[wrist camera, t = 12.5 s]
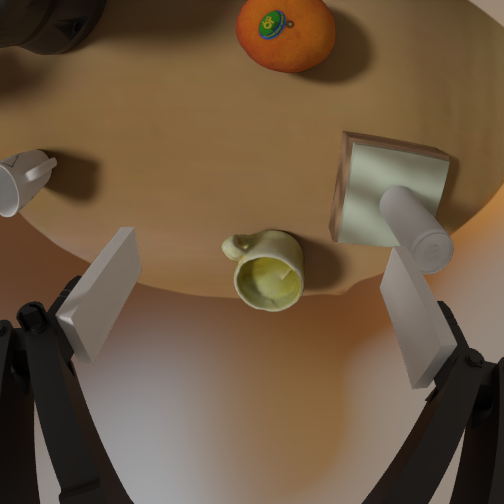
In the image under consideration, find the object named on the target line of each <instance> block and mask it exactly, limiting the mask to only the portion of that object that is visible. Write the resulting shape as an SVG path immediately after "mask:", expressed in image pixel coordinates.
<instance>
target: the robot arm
mask: <svg viewBox="0 0 504 504" xmlns="http://www.w3.org/2000/svg"><path fill="white" fill-rule="evenodd" d="M105 2H106V0H0V48H3V47H10V46H19V47H22V48H24V49H26V50H29V51H31V52H33V53H36V54H40V55H51V54H59V53H63V52H66V51H68V50H70V49H72V48H74V47H75V46H76V45H78V44H79V43H80V42H81V41H83V40H84V39H85V38H86V37H87V36H88V34H89V33H90V32H91V31H92V29H93V28H94V27H95V25H96V23H97V22H98V20H99V18H100V16H101V14H102V11H103V9H104V6H105ZM141 272H142V267H141V262H140V257H139V252H138V246H137V241H136V235H135V229H134V227H121V228H120V229H119V230H118V231H117V233H116V234H115V235H114V236H113V238H112V239H111V240H110V241H109V243H108V244H107V245H106V246H105V248H104V249H103V250H102V251H101V253H100V254H99V255H98V256H97V258H96V259H95V260H94V262H93V263H92V264H91V266H90V267H89V268H88V270H87V271H86V272H85V274H84V275H83V276H76V277H75V278H74V279H72V280H71V281H69V283H68V284H67V285H66V287H65V288H64V291H62V292H61V293H60V295H59V297H57V299H56V300H55V302H54V303H53V305H52V306H51V307H50V309H49V310H48V312H47V313H46V311H45V309H44V307H43V305H42V303H40V302H36V301H34V302H29V303H27V304H25V305H24V306H22V307H21V308H20V309H19V311H18V313H17V316H16V318H17V320H18V322H19V324H20V325H21V327H22V328H13V326H12V325H11V323H10V321H8V320H1V321H0V504H40V498H39V491H38V484H37V473H36V461H35V443H34V399H35V403H36V408H37V412H38V416H39V420H40V424H41V428H42V432H43V435H44V439H45V443H46V446H47V449H48V452H49V455H50V459H51V462H52V465H53V468H54V470H55V473H56V476H57V479H58V481H59V484H60V487H61V493H60V495H59V502H60V504H134V503H133V501H132V500H131V499H130V497H129V496H128V494H127V493H126V491H125V489H124V487H123V485H122V483H121V481H120V479H119V477H118V475H117V474H116V471H115V469H114V468H113V466H112V463H111V461H110V459H109V457H108V455H107V453H106V450H105V448H104V446H103V444H102V442H101V439H100V437H99V435H98V432H97V430H96V427H95V425H94V422H93V420H92V417H91V415H90V412H89V409H88V407H87V404H86V401H85V399H84V396H83V393H82V390H81V387H80V384H79V381H78V378H77V374H76V371H75V368H74V365H73V362H72V361H71V357H72V355H73V353H75V355H76V357H77V359H78V360H79V361H81V362H84V363H88V364H94V363H95V360H96V358H97V356H98V354H99V352H100V350H101V348H102V346H103V344H104V342H105V340H106V338H107V336H108V334H109V332H110V330H111V328H112V326H113V324H114V322H115V320H116V318H117V316H118V315H119V313H120V311H121V309H122V307H123V305H124V303H125V301H126V299H127V298H128V296H129V294H130V292H131V290H132V289H133V287H134V285H135V283H136V281H137V280H138V278H139V276H140V274H141ZM380 290H381V293H382V296H383V298H384V301H385V304H386V307H387V309H388V313H389V315H390V318H391V321H392V324H393V327H394V330H395V333H396V336H397V339H398V342H399V346H400V349H401V352H402V355H403V359H404V362H405V365H406V368H407V372H408V376H409V379H410V383H411V386H412V389H418V388H427V387H428V386H429V385H430V383H431V382H432V381H433V379H434V382H435V385H436V387H435V389H434V390H433V391H432V392H431V393H430V395H429V396H428V397H427V398H426V400H425V401H427V403H426V405H425V407H424V409H423V411H422V412H421V414H420V416H419V418H418V420H417V422H416V423H415V425H414V427H413V429H412V430H411V432H410V434H409V435H408V437H407V439H406V440H405V442H404V444H403V445H402V447H401V449H400V450H399V452H398V453H397V455H396V457H395V458H394V460H393V461H392V463H391V464H390V466H389V467H388V469H387V470H386V471H385V473H384V474H383V476H382V477H381V479H380V480H379V482H378V483H377V484H376V486H375V487H374V488H373V490H372V491H371V492H370V493H369V495H368V496H367V498H366V499H365V500H364V501H363V503H362V504H428V503H429V501H430V500H431V498H432V496H433V495H434V493H435V491H436V489H437V487H438V485H439V484H440V482H441V480H442V478H443V476H444V474H445V472H446V470H447V468H448V466H449V463H450V462H451V459H452V457H453V455H454V453H455V451H456V449H457V446H458V444H459V441H460V439H461V437H462V434H463V432H464V429H465V434H464V441H463V447H462V452H461V457H460V463H459V467H458V472H457V476H456V481H455V485H454V488H453V492H452V496H451V500H450V503H449V504H504V357H502V358H501V359H500V361H499V362H498V364H496V363H491V362H487V361H485V360H484V358H483V356H482V355H481V354H480V353H479V352H478V351H476V350H475V349H472V348H469V346H468V344H467V342H466V340H465V337H464V335H463V333H462V331H461V329H460V327H459V326H458V325H457V324H458V323H457V321H456V319H455V318H454V315H453V313H452V312H451V310H450V308H449V307H448V306H447V305H446V304H445V303H444V302H443V301H436V299H435V297H434V295H433V293H432V291H431V289H430V288H429V286H428V284H427V282H426V280H425V278H424V276H423V275H422V273H421V271H420V269H419V267H418V266H417V264H416V262H415V260H414V259H413V257H412V255H411V254H410V252H409V250H408V248H407V247H406V246H395V245H393V248H392V251H391V255H390V258H389V261H388V264H387V267H386V271H385V274H384V277H383V280H382V283H381V285H380ZM465 427H466V428H465Z"/></svg>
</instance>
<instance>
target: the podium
mask: <svg viewBox="0 0 504 504" xmlns="http://www.w3.org/2000/svg"><path fill="white" fill-rule="evenodd" d="M449 160H450V156H448V155H447V154H445V153H444V152H442V151H440V150H439V149H437V148H434V147H429V146H425V145H420V144H416V143H411V142H406V141H401V140H396V139H390V138H385V137H379V136H373V135H367V134H360V133H354V132H346V131H343V135H342V143H341V151H340V158H339V166H338V173H337V180H336V186H335V193H334V199H333V205H332V211H331V217H330V223H329V230H330V233H331V237H332V240H333V242H338V243H348V244H361V245H373V246H385V247H393V245H395V246H400V244H399V242H398V240H397V239H396V237H395V235H394V234H393V232H392V230H391V229H390V227H389V225H388V224H387V222H386V221H385V219H384V217H383V216H382V214H381V212H380V209H379V205H380V200H381V198H382V196H383V194H384V193H385V192H386V191H387V190H388V189H389V188H391V187H394V186H404V187H406V188H407V189H408V190H409V191H410V192H411V193H412V194H413V195H414V196H415V197H416V198H417V199H418V200H419V201H420V203H421V204H422V205H423V206H424V207H425V208H426V209H427V210H428V211H429V212H430V214H431V215H432V216H433V217H434V218H435V217H436V213H437V210H438V206H439V203H440V199H441V196H442V192H443V188H444V184H445V181H446V177H447V172H448V168H449V164H450V162H449Z"/></svg>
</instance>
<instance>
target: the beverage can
mask: <svg viewBox="0 0 504 504" xmlns="http://www.w3.org/2000/svg"><path fill="white" fill-rule="evenodd" d="M379 209H380V212H381V214H382V216H383V217H384V219H385V221H386V222H387V224H388V225H389V227H390V229H391V230H392V232H393V234H394V235H395V237H396V239H397V240H398V242H399V244H400V246H406V247H407V248H408V250H409V252H410V254H411V255H412V257H413V259H414V260H415V262H416V264H417V266H418V267H419V269H420V271H421V273H422V274H427V275H428V274H434V273H436V272H438V271H440V270H442V269H443V268H444V267H445V266H446V265H447V264H448V263H449V261H450V260H451V257H452V255H453V250H454V249H453V243H452V240H451V238H450V236H449V234H448V233H447V232H446V231H445V230H444V228H443V227H442V226H441V225H440V224H439V223H438V221H437V220H436V219H435V218H434V217H433V216H432V215H431V214H430V212H429V211H428V210H427V209H426V208H425V207H424V206H423V205H422V204H421V203H420V201H419V200H418V199H417V198H416V197H415V196H414V195H413V194H412V193H411V192H410V191H409V190H408V189H407V188H406V187H404V186H394V187H391V188H389V189H388V190H387V191H386V192H385V193H384V194H383V196H382V198H381V200H380V205H379Z"/></svg>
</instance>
